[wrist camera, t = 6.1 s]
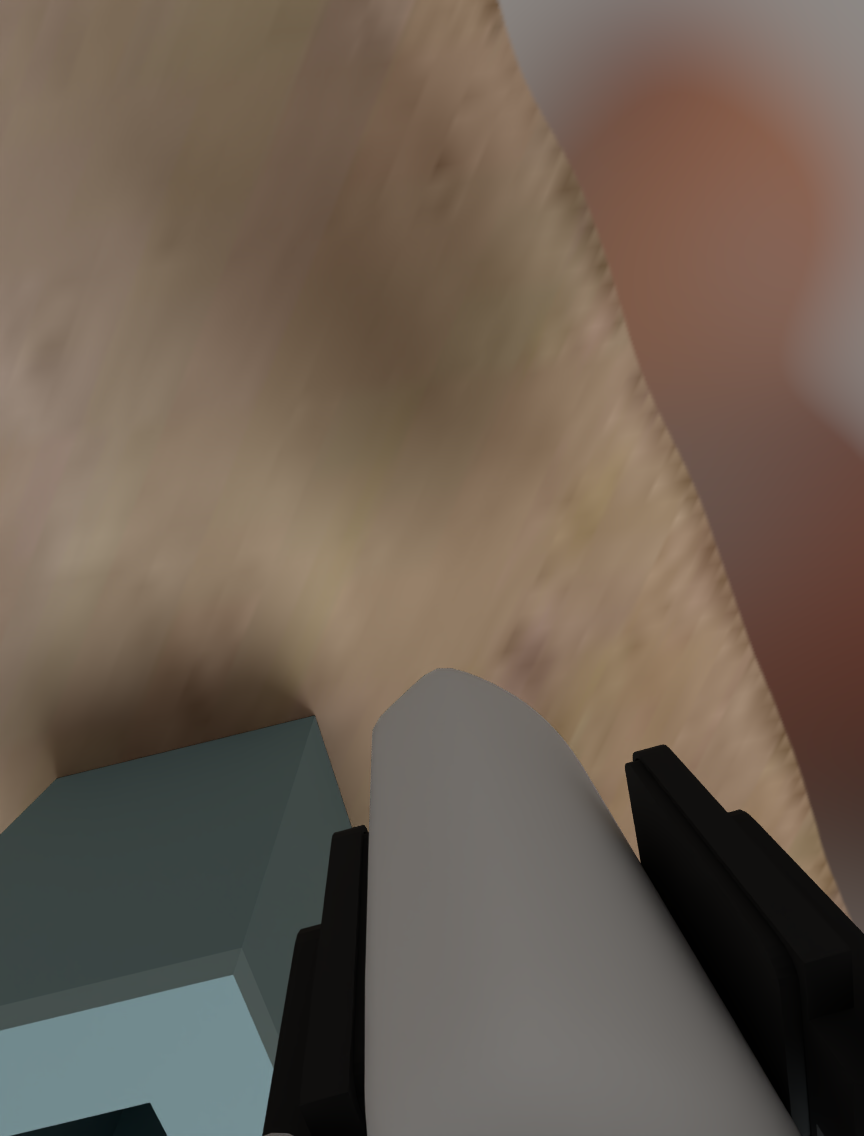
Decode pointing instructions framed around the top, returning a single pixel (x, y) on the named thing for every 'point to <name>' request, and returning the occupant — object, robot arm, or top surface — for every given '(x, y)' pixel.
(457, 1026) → the eye dropper bottle
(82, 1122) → the drop box
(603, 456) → the top surface
